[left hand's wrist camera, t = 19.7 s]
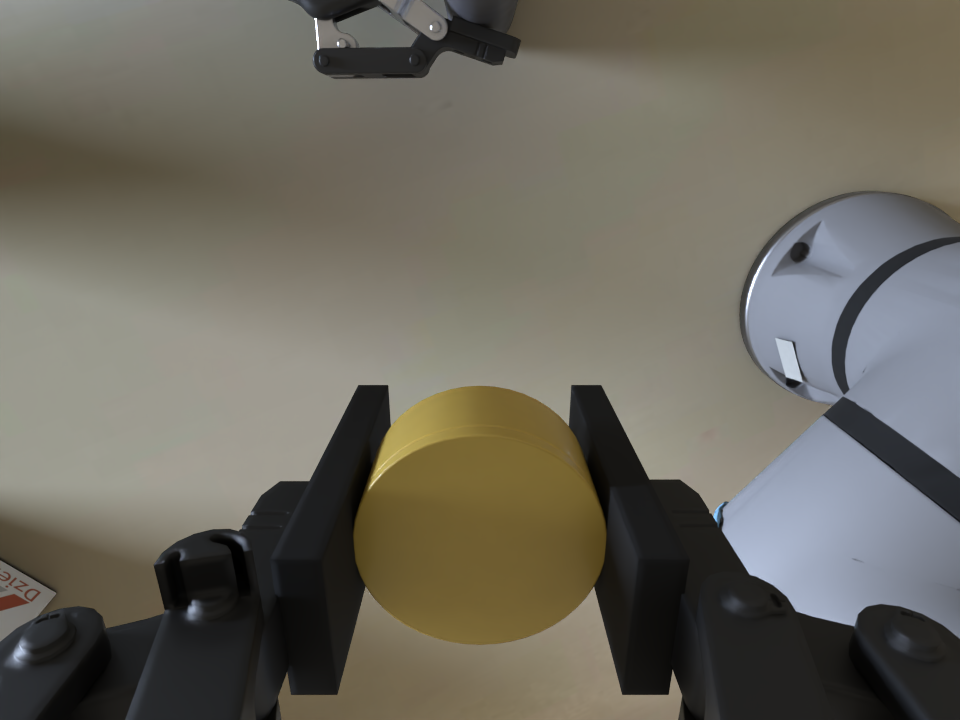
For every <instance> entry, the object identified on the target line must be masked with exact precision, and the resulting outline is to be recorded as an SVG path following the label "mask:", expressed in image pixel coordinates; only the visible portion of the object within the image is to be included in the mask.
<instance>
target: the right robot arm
mask: <svg viewBox="0 0 960 720" xmlns="http://www.w3.org/2000/svg"><path fill="white" fill-rule="evenodd" d="M290 1H292V2H295V3H297V4H299V5H300V6H301V7H302V8H303V9H304V10H305V11H306V12H307V13H308V14H309V15H310V16H312V17H313V18H314V19H315V22H316V32H317V42H318V50H317V51H316V52H315V53H314V56H313V64H314V66H315V68H316V69H317V70H318V71H319V72H321V73H323V74H325V75H327V76H329V77H331V78H334V79H357V78H422V77H425V76H426V75H427V74H428V72H429V70H430V67H431V66H432V64H433V63H434V61H435V59H436V58H437V57H438V55H439V54H441V53H442V52H445V51H452V52H455V53H458V54H461V55H464V56H467V57H470V58H472V59H476V60H478V61H481V62H484V63H487V64H490V65H502V64H503V60H504V57H505V56H506V57H510V58H516V56H517V53H518V49H519V46H520V42H521V40H520V39H518V38H516V37H513V36H510V35H508V34H505V33H502V32H499V31H496V30H493V29H490V28H488V27H485V26H482V25H479V24H476V23H473V22H470V21H467V20H465V19H462V18H459V17H456V16H453V18H452V21H451V20H449V19H446V18H444V17H443V16H441V15H440V14H439V13H437V12H436V11H435V10H433V9H432V8H431V7H429V6H428V5H427V4H425V3H424V2H423V1H421V0H290ZM377 6H378V7H379V8H381V9H382V10H383V11H385V12H386V13H388V14H389V15H390V16H392V17H393V18H394V19H396V20H397V21H399V22H400V23H401V24H403V25H404V26H406V27H408V28H410V29H411V30H412V31H414V32H415V33H416V34H418V36H417V38H416V40H415V41H414V43H413V44H412V46H411V47H385V48H360V47H359V44H358V42H357V41H356V39H354V38H353V37H352V36H351V35H349V34H347V33H342V32H340V31H339V29H338V27H337V22H340V21H342V20H344V19H347V18H349V17H352V16H354V15H357V14H359V13H362V12H364V11H367V10H369V9H372V8H374V7H377Z"/></svg>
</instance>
